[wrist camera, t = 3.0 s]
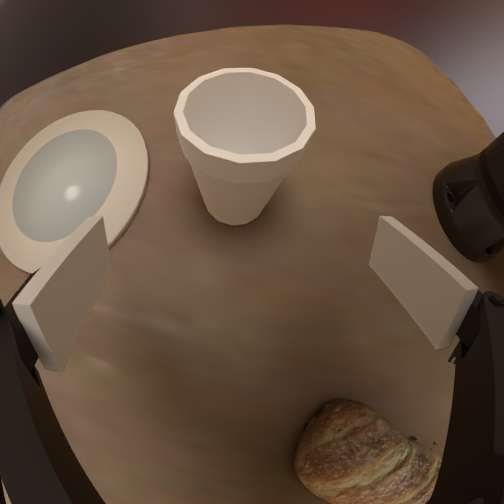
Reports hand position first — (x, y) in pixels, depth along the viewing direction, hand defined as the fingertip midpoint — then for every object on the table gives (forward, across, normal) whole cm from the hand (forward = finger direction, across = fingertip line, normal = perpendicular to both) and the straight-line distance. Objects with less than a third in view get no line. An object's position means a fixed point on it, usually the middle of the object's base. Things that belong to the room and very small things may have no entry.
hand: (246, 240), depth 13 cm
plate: (+19, -20, -1) cm, 28 cm away
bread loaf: (-6, +16, -27) cm, 32 cm away
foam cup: (+17, +1, -3) cm, 18 cm away
